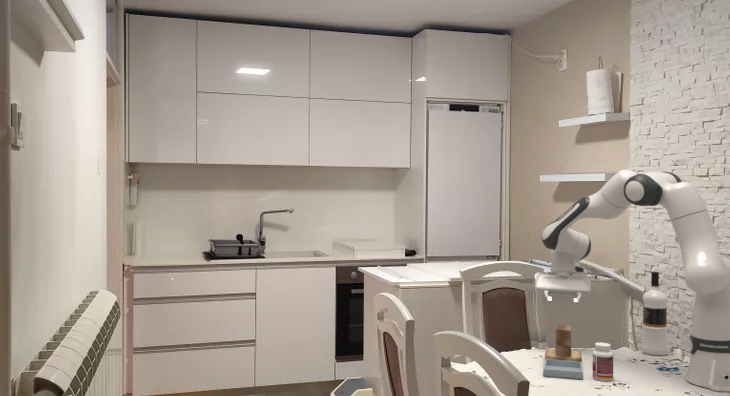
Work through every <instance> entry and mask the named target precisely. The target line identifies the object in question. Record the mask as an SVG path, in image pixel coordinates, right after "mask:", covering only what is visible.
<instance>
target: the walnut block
mask: <svg viewBox="0 0 730 396" xmlns="http://www.w3.org/2000/svg"><path fill="white" fill-rule="evenodd" d="M555 349H556V356H562V357H571V351H572V325H571V324H560V323H559V324H557V323H556V325H555Z"/></svg>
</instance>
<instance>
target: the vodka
mask: <svg viewBox="0 0 730 396" xmlns="http://www.w3.org/2000/svg"><path fill="white" fill-rule="evenodd" d="M650 274H651V275H650V278H651V279H650V281H651V283H650V285H651V286H650V289H649V290H648V291H646V292H645V293H643V295H642V325H641V327H642V336H641V337H642V339H641V345H640V350H641V352H642V353H643V354H645V355H647V356H656V357H663V356H666V355H668V354H669V345H668V332H667V331H668V326H667V317H668V313H667V311H668V309H667V308H668V300H669V299H668V296H667V295H666V294H665V293H663V291H661V290H660V275H659V274H660V272H659V271H651V272H650Z"/></svg>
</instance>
